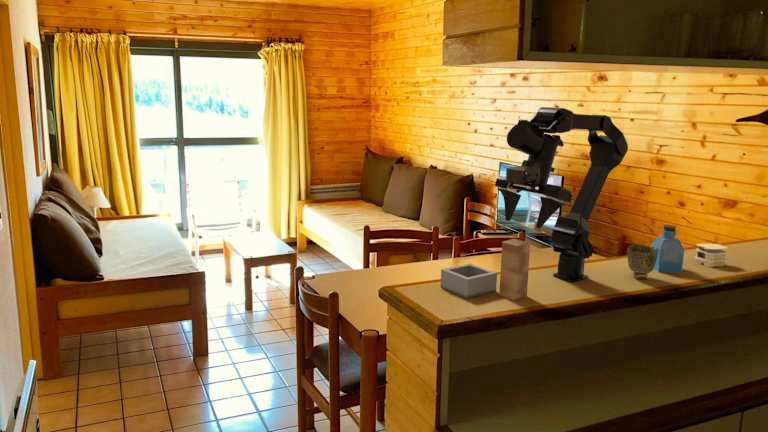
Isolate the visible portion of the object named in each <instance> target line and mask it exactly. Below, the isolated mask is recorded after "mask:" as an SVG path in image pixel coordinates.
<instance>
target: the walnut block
mask: <svg viewBox="0 0 768 432" xmlns="http://www.w3.org/2000/svg"><path fill="white" fill-rule="evenodd" d="M530 253H531V242H529V241H525V240H522V239H517V238H511V239H508V240H504V241H502V243H501V259H500V260H501V262H500V276H499V277H500V279H499V294H498V295H499V296H501V297H504V298H507V299H510V300H513V301H517V300H520V299H524V298H527V296H528V283H529V282H528V281H529V268H530Z"/></svg>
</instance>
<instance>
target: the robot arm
mask: <svg viewBox="0 0 768 432" xmlns="http://www.w3.org/2000/svg"><path fill="white" fill-rule="evenodd" d="M573 130H587V131H588V136H587V142H588V144H589V147H590V149H589V152H588V153H589V154H588V155H589V160H590V166H589V168H588V170H587V172H586V175H585V176H584V179H583V181H582V184H581V186H580V188H579V191H578V193H577V194H576V197H575V199H574V201H573V204H572V206H571V208H570V209H569V210H570V211H569V212H568V214H566V215H564V216H562V215H559V216H558V217H557V218H556V221H555V223H554V226H553V227H552V229H551V231H552V232H551V235H550V239H551V245H552V250H553V252H555V253H559V255H558V256H559V257H558V262H557V263H558V264H557V272H554V273H553V274H552V276H553V277H555V278H559V279H563V280H565V281H569V282H572V283H573V282H578V281H582V280H585V279H588V278H589V275H587V274H584V272H585V259H590V258H591V257H592V256H593V254H594V249H595V248H594V246H593V245H592V243H591V242H590V239H588V238H589V235H590V228H589V219H590V217H591V215H592V212H593V210H594V208H595V205H596V203H597V201H598V199H599V196H600V194H601V192H602V190H603V188H604V185H605V183H606V181H607V179H608V176H609V174H610V172H611V171H613V170H614V169H615V168H616V167H618V166H619V165H621V163H622V162H623V159H624V158H625V156H626V155H627V152H628V149H629V145H628V141H627V140H626V137H625V135H624V132H622V131H621V129H619V128H618V127H617V126H616V125H615V124H614V123H613V120H612V119H611V117H610V116H608V115H606V114H593V113H592V114H580V113H575V112H573V111H572V110H570V109H567V108H565V107H550V106H549V107H547V106H546V107H545V106H541V107H540V108H538V111H537V112H536V113H535V114H534V115H533V116H532V117H531V118H530V119H529V120H528V119H523V118H522V119H520V118H519V119H518V122H517V124H515V125H514V126H511V128H510V129H509V131H508V132H507V135H506V143H507V145H508V146H509V147H510V148H512V149H514V150H516V151H519V152H520V153H521V152H522V153H523V154H525V155H528V157H527V159H523V160H522V163H521V165H517V166H510V167H506V169H505V171H506V172H505V176H504V175H499V176H498V177H497V178H496V179H495V182H494V183H495V184H494V187H497V191H498V192H500V193H501V195H502V197H503V201H504V202H503V203H504V212H505V213H504V214H505V215H504V217H505V221H506V222H510V221H511V219H512V217H513V216H514V213H515V211H516V208H517V206H518V204H519V201H520V199H521V197H522V195H521V194H519V193H521V192H526V193H532V194H538V195H539V196H540V195H544V196H540V197H539V198H540V202H541V206H540V209H539V213H538V217H537V220H536V225H535V226H536V227H535V228H536V229H539V230H540V229H542V227H543V226H544V225H545V223H546V222H547V221H548V220H549V219H550V218H551V217H552V216H553V215H554V213H556V212H557V211H558V210H559V209H560V208H561V207H562V206H563V207H565V206H566V203H567V204H571V202H572V198H573V194H572V190H570V189H569V188H566V187H563V186H561V185H555V184H549V183H548V181H549V178H550V173H554V172H555V170H556V169H555V167H553V164H554V160H555V156H556V153H557V149H558V147H561V148H562V147H564V146H565V145H564V144H565V143H564V141H563V140H562V139H561V136H560V134H564V133H569V132H571V131H573ZM598 132H603V134H604V135H601V134H600V135H599V134H598ZM551 134H552V135H551ZM558 134H559V135H558ZM537 188H538V189H537Z"/></svg>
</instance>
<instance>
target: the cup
mask: <svg viewBox="0 0 768 432" xmlns="http://www.w3.org/2000/svg"><path fill="white" fill-rule="evenodd" d="M658 252H659V250H658V248H656V249H654V247H652V248H651V246H650V245H647V246H646V245H643V246H641V244H638V245H635V244H632V245H628V247H627V265H628V267H629V269H630V270H631V272H632V276H633V278H635V279H637V280H638V279H639V280H646V279H648V276H649V274H650V273H651V272H652V271H654V270H655V269H654V267H655V264H656V260H657V256H658Z"/></svg>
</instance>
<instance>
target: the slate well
mask: <svg viewBox="0 0 768 432" xmlns="http://www.w3.org/2000/svg"><path fill="white" fill-rule="evenodd" d="M497 281H498V273H497V272H496V271H492V270H491V269H490V270H489V269H487V268H484V267H481V266H479V265H477V264H473V263H471V262H469V263H466V264H461V265H456V266H451V267H446V268H441V269H440V288H441V289H443V290H445V291H447V292H451V293H452V294H455V295H457V296H459V297H462V298H464V299H467V300H468V299H470V298H474V297H475V298H476V297H478V296H483V295H488V294H492V293H495V292H497V284H498V283H497Z"/></svg>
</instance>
